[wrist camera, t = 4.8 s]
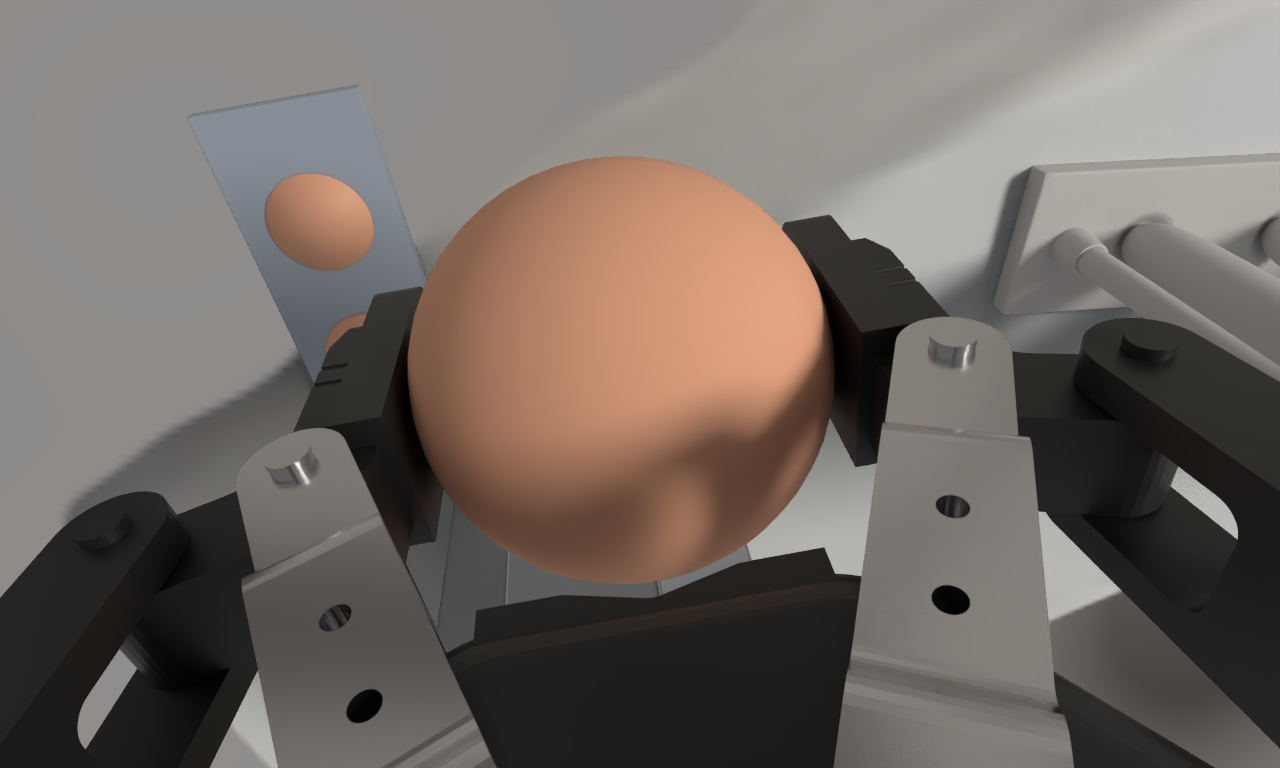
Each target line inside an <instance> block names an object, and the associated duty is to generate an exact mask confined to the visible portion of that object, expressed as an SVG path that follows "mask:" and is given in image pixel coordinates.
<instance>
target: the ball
mask: <svg viewBox="0 0 1280 768" xmlns="http://www.w3.org/2000/svg"><path fill="white" fill-rule="evenodd" d="M407 380H408V389H409V397H410V404H411V411H412V417H413V421H414V424H415V427H416V430H417V434H418V437H419V440H420V443H421V445H422V448H423V451H424V454H425V457H426V459H427V461H428V463H429V465H430V466H431V468H432V470H433V472H434V474H435V476H436V478H437V479H438V481H439V482H440V484H441V486H442V487H443V489H444V490H445V492H446V493H447V494H448V496H449V497H450V499H451V500H452V501H453V503H454V504H455V505H456V507H457V508H458V509H459V510H460V511H461V512H462V513H463V514H464V515H465V516H466V517H467V518H468V519H469V520H470V521H471V522H472V523H473V524H474V525H475V526H476V527H477V528H478V529H479V530H480V531H481V532H482V533H483V534H484V535H486V536H487V537H488V538H490V539H491V540H492V541H493V542H495V543H496V544H497V545H498V546H500V547H502V548H503V549H505V550H507V551H508V552H510V553H512V554H513V555H515V556H517V557H519V558H520V559H522V560H524V561H526V562H528V563H530V564H532V565H535V566H537V567H539V568H541V569H543V570H546V571H549V572H552V573H555V574H558V575H561V576H565V577H569V578H573V579H578V580H583V581H591V582H599V583H607V584H637V583H647V582H655V581H661V580H665V579H670V578H674V577H678V576H681V575H684V574H688V573H691V572H694V571H696V570H699V569H701V568H703V567H706V566H708V565H710V564H712V563H715V562H717V561H718V560H720V559H722V558H724V557H726V556H728V555H730V554H732V553H733V552H735V551H736V550H738V549H739V548H741V547H742V546H744V545H745V544H747V543H749V542H750V541H751V540H752V539H753V538H755V537H756V536H757V535H758V534H760V533H761V532H762V531H763V530H764V529H765V528H766V527H767V526H768V525H769V524H770V523H771V522H772V521H773V520H774V519H775V518H776V517H777V516H778V515H779V514H780V513H781V512H782V511H783V510H784V508H785V507H786V506H787V505H788V504H789V502H790V501H791V500H792V498H793V497H794V496H795V495H796V493H797V492H798V490H799V489H800V487H801V485H802V484H803V482H804V480H805V479H806V477H807V475H808V473H809V471H810V470H811V468H812V466H813V464H814V462H815V460H816V458H817V455H818V453H819V451H820V448H821V446H822V443H823V441H824V437H825V433H826V429H827V425H828V421H829V417H830V413H831V409H832V405H833V397H834V386H835V355H834V342H833V337H832V333H831V328H830V324H829V319H828V315H827V310H826V306H825V303H824V300H823V298H822V295H821V293H820V291H819V288H818V286H817V283H816V281H815V279H814V277H813V275H812V273H811V271H810V269H809V267H808V265H807V263H806V262H805V260H804V259H803V257H802V255H801V254H800V252H799V250H798V249H797V247H796V246H795V245H794V244H793V242H792V241H791V240H790V239H789V238H788V236H787V235H786V234H785V233H784V232H783V231H782V229H781V228H780V227H779V226H778V225H777V224H776V222H775V221H774V220H773V219H772V218H771V217H770V216H769V215H768V214H767V213H766V212H764V211H763V210H762V209H761V208H760V207H759V206H758V205H756V204H755V203H754V202H753V201H752V200H750V199H749V198H747V197H746V196H744V195H743V194H741V193H739V192H738V191H736V190H735V189H733V188H732V187H730V186H728V185H727V184H725V183H723V182H722V181H720V180H718V179H716V178H714V177H711V176H709V175H707V174H705V173H703V172H700V171H698V170H696V169H693V168H690V167H686V166H683V165H679V164H676V163H673V162H669V161H663V160H656V159H650V158H643V157H604V158H595V159H586V160H581V161H577V162H573V163H569V164H564V165H560V166H556V167H554V168H551V169H548V170H546V171H543V172H541V173H538V174H536V175H533V176H530V177H528V178H526V179H525V180H523V181H521V182H519V183H517V184H516V185H514V186H512V187H510V188H508V189H506V190H505V191H503V192H502V193H501V194H499V195H498V196H497V197H495V198H494V199H493V200H491V201H490V202H489V203H487V204H486V205H484V206H483V207H482V208H481V209H480V210H479V211H478V212H477V213H476V214H475V215H474V216H473V217H472V218H471V219H470V220H469V221H468V222H467V223H466V224H465V225H464V226H463V227H462V228H461V229H460V230H459V232H458V233H457V234H456V235H455V237H454V238H453V239H452V241H451V242H450V243H449V245H448V246H447V247H446V249H445V250H444V251H443V253H442V254H441V255H440V257H439V259H438V261H437V263H436V265H435V266H434V268H433V270H432V272H431V274H430V276H429V277H428V280H427V282H426V284H425V287H424V289H423V292H422V295H421V297H420V300H419V303H418V306H417V309H416V312H415V314H414V320H413V325H412V331H411V336H410V342H409V350H408V374H407Z"/></svg>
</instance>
